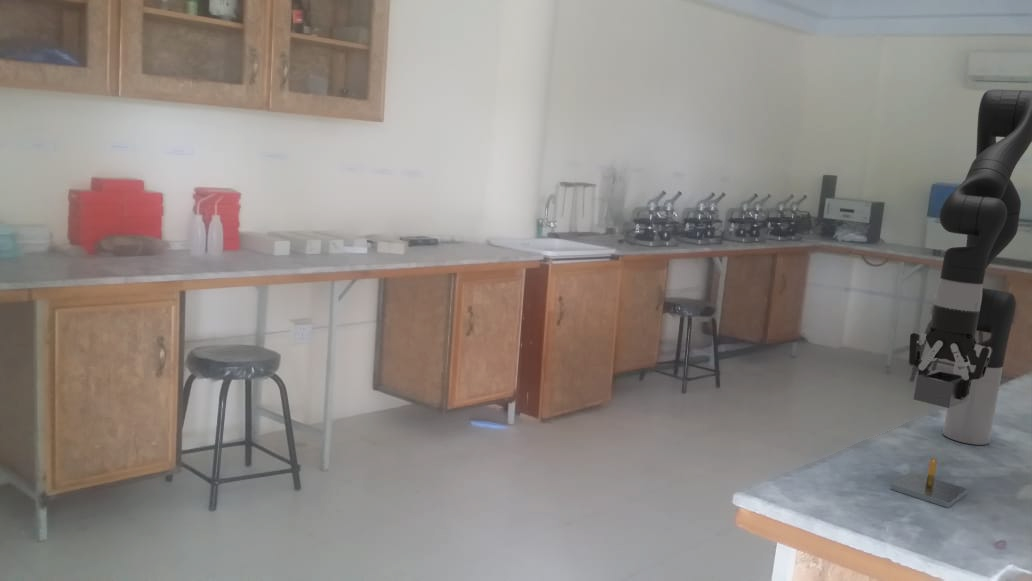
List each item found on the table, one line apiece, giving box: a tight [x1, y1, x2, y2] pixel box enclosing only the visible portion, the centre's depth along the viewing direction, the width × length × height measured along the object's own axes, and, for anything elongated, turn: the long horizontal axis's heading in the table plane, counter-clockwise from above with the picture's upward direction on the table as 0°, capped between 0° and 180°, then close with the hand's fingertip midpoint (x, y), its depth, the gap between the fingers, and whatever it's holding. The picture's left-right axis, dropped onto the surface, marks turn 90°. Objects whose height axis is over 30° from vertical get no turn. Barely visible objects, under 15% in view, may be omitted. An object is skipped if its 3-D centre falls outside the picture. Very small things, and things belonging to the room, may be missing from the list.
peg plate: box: [889, 458, 968, 509], centre depth 161 cm, size 10×10×6 cm
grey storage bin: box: [913, 369, 967, 409], centre depth 165 cm, size 10×6×4 cm, turn 137°
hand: (941, 394), depth 165 cm, fingers closed on grey storage bin, 6 cm apart
